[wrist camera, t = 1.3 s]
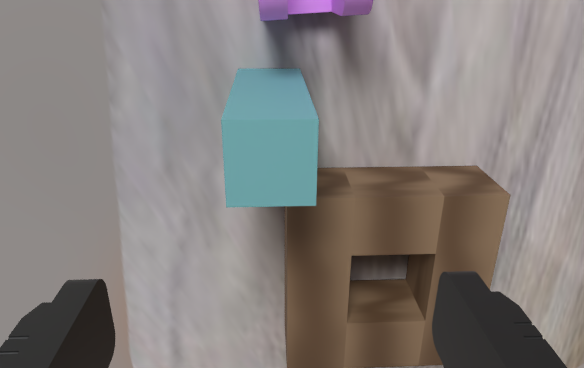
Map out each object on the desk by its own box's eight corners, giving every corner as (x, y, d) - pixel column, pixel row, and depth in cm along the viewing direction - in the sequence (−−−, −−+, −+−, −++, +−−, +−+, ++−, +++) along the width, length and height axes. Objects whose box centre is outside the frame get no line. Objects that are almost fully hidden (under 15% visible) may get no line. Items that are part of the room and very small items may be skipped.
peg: (299, 68, 30) (318, 118, 19) (299, 127, 31) (316, 205, 20) (238, 68, 30) (221, 119, 19) (240, 128, 31) (226, 207, 20)
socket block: (476, 165, 33) (510, 195, 29) (449, 318, 39) (473, 363, 34) (284, 168, 33) (287, 198, 28) (284, 323, 38) (287, 370, 34)
